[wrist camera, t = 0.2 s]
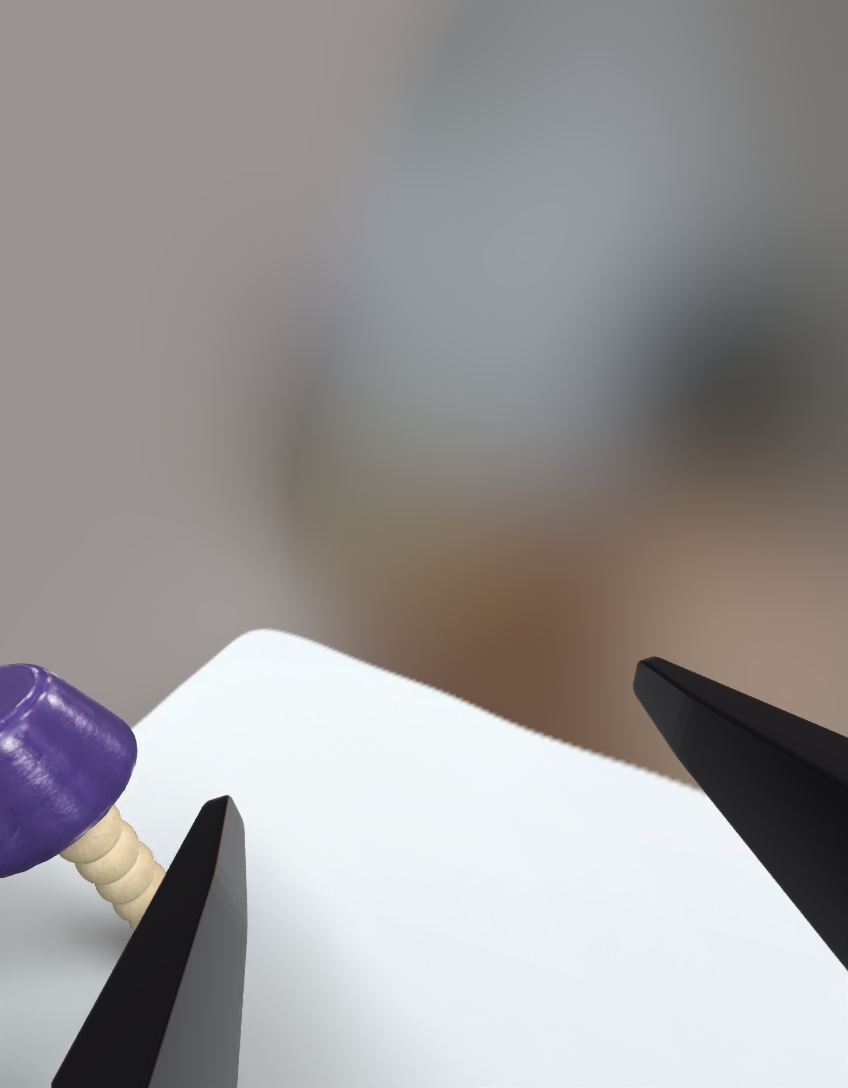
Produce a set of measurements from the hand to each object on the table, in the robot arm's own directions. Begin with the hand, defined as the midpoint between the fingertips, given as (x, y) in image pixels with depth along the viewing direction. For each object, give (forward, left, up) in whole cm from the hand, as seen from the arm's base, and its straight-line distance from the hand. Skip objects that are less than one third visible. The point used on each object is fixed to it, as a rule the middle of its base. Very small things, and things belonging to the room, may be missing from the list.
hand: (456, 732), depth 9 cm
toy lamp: (+5, +11, -17) cm, 21 cm away
